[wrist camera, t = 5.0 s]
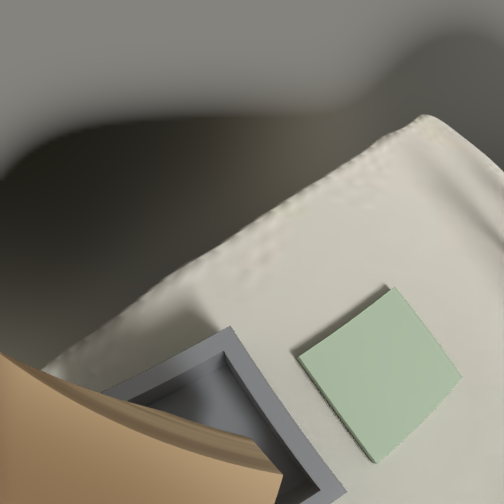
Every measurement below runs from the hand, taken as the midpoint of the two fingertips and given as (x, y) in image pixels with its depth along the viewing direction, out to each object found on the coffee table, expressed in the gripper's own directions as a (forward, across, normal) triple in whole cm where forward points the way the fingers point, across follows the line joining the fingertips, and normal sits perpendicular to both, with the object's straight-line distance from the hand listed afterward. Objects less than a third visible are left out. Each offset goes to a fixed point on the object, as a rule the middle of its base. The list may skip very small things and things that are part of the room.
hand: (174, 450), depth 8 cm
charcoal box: (+6, 0, +8) cm, 10 cm away
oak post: (+4, 0, +6) cm, 7 cm away
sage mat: (+12, -10, +2) cm, 16 cm away
